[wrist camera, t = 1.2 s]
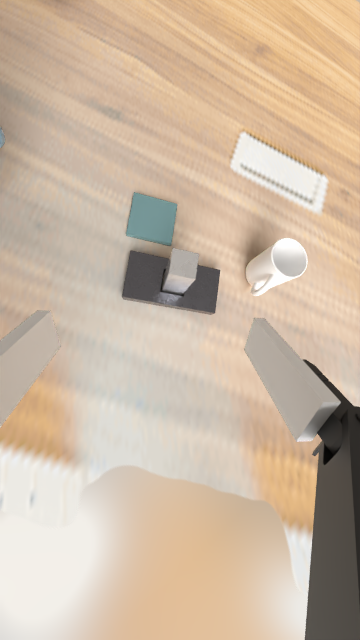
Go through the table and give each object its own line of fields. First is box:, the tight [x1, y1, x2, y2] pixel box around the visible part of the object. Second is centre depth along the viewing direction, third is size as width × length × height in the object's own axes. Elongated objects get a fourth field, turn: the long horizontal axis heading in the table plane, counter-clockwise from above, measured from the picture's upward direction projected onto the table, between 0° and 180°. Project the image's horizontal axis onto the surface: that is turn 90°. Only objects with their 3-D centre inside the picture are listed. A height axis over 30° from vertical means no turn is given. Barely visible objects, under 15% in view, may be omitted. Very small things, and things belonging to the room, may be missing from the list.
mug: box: [246, 238, 308, 296], centre depth 43 cm, size 12×8×10 cm
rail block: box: [122, 251, 220, 315], centre depth 42 cm, size 20×10×2 cm, turn 82°
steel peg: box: [161, 248, 199, 296], centre depth 37 cm, size 4×4×13 cm
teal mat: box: [126, 192, 177, 246], centre depth 44 cm, size 10×10×1 cm
